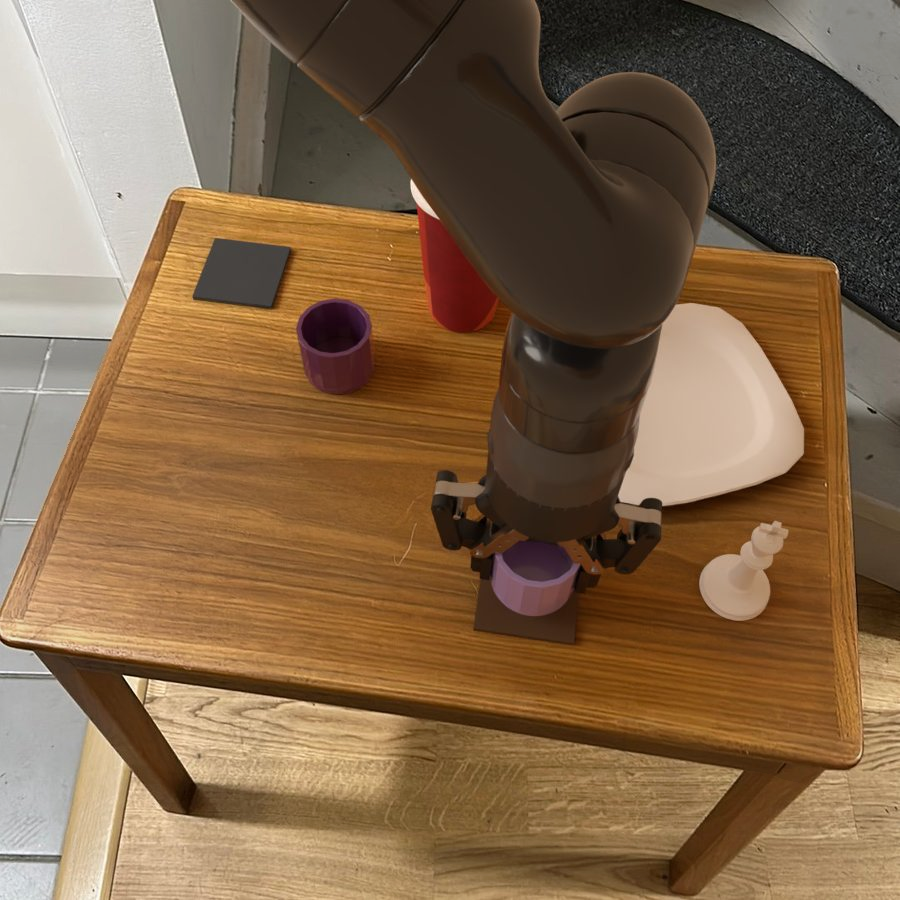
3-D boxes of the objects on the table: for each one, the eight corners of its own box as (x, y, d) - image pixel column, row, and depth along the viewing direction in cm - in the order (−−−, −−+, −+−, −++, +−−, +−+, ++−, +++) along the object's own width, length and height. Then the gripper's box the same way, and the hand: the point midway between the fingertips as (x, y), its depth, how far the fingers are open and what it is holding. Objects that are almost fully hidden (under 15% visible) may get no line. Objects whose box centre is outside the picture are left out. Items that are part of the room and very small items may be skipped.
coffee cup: (528, 316, 79) (546, 180, 66) (449, 358, 77) (452, 226, 64) (472, 256, 83) (479, 116, 70) (395, 294, 80) (387, 157, 67)
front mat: (473, 630, 64) (473, 628, 64) (486, 540, 68) (486, 538, 67) (573, 645, 64) (574, 643, 63) (581, 554, 67) (582, 551, 67)
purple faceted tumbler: (297, 389, 75) (288, 351, 71) (313, 334, 78) (306, 294, 74) (367, 398, 74) (363, 361, 70) (380, 342, 77) (377, 303, 73)
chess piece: (764, 629, 64) (814, 569, 56) (694, 609, 65) (732, 548, 57) (772, 567, 67) (821, 501, 58) (704, 549, 68) (743, 481, 59)
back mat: (192, 299, 80) (191, 296, 79) (215, 240, 83) (214, 237, 83) (272, 309, 79) (271, 306, 79) (291, 250, 83) (291, 246, 82)
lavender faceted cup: (485, 609, 62) (488, 579, 58) (495, 533, 65) (499, 499, 61) (571, 622, 62) (580, 592, 58) (577, 545, 65) (587, 511, 61)
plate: (723, 302, 80) (728, 288, 79) (824, 475, 71) (832, 463, 70) (526, 346, 77) (528, 333, 76) (604, 532, 68) (608, 522, 67)
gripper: (697, 402, 50) (640, 539, 65) (436, 369, 51) (437, 511, 66) (695, 524, 46) (635, 641, 61) (414, 485, 47) (419, 609, 62)
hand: (532, 573), depth 63 cm, fingers closed on lavender faceted cup, 6 cm apart
